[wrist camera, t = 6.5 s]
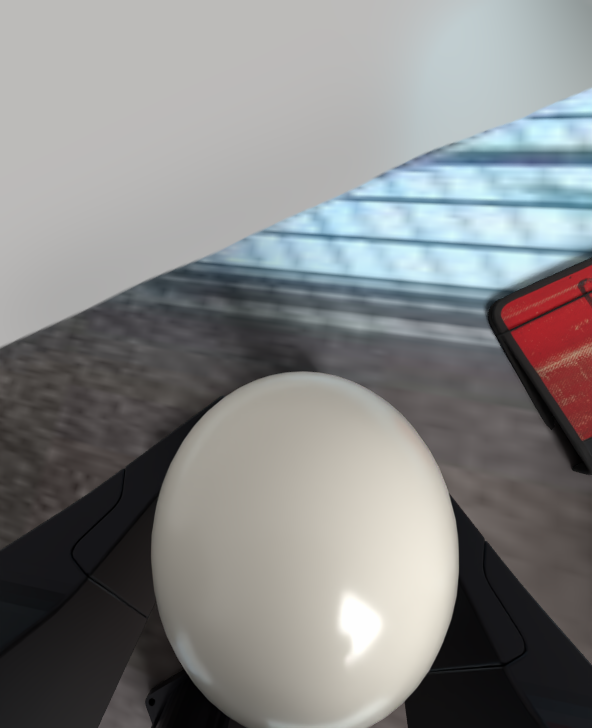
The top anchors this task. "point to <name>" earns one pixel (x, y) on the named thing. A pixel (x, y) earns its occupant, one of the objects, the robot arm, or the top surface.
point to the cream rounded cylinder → (305, 554)
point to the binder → (554, 350)
